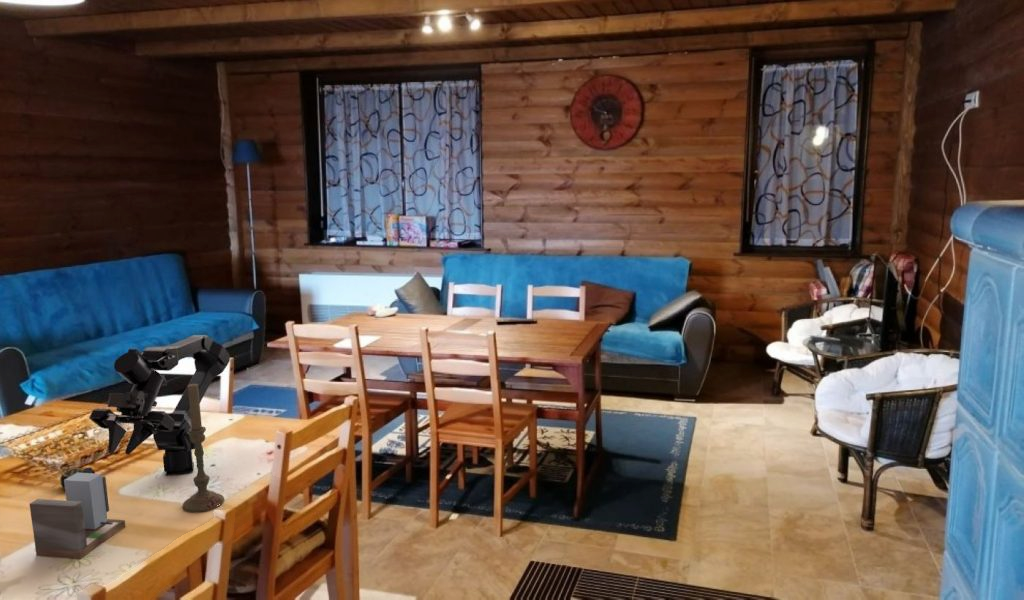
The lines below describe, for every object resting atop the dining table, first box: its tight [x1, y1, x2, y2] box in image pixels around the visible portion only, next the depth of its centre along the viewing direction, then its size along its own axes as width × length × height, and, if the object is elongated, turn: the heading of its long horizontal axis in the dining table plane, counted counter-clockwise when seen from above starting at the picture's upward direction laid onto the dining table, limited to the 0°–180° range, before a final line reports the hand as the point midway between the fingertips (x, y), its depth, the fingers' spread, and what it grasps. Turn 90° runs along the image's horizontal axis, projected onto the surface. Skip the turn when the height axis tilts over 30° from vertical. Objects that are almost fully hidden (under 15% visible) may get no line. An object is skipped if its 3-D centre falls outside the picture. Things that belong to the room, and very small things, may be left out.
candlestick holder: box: [182, 382, 225, 513], centre depth 172 cm, size 9×9×30 cm
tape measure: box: [59, 467, 96, 489], centre depth 185 cm, size 7×7×4 cm
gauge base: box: [29, 498, 126, 560], centre depth 156 cm, size 14×10×12 cm
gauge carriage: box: [64, 473, 113, 529], centre depth 160 cm, size 5×9×11 cm, turn 82°
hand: (118, 453), depth 170 cm, fingers open, 4 cm apart
